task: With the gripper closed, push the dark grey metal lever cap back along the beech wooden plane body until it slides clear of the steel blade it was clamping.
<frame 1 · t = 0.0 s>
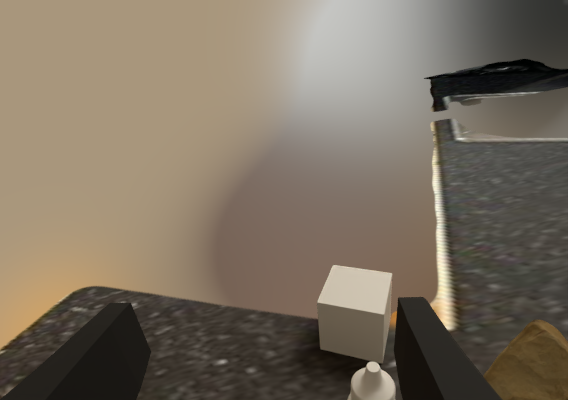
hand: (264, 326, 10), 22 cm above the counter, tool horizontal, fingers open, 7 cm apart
white cube: (356, 335, 38), on the counter
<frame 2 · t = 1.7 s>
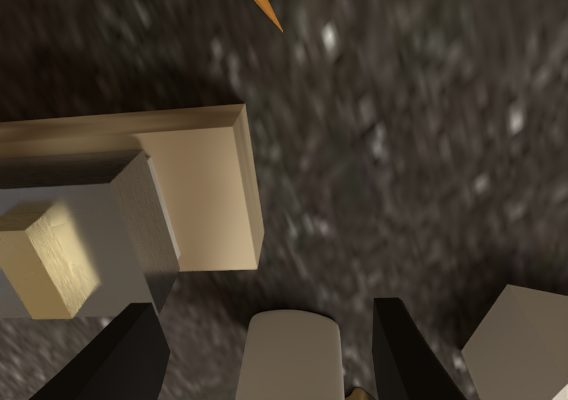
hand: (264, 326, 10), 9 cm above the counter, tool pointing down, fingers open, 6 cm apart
eye dropper bottle: (294, 324, 24), on the counter
plane body: (66, 184, 19), on the counter
white cube: (527, 325, 23), on the counter
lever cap: (61, 244, 15), point 5 cm above the counter, slide at 0.0 cm
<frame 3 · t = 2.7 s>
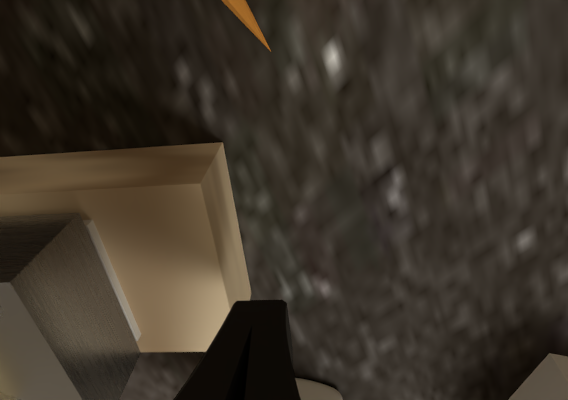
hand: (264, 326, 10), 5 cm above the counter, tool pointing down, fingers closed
eye dropper bottle: (289, 391, 20), on the counter
plane body: (3, 236, 16), on the counter
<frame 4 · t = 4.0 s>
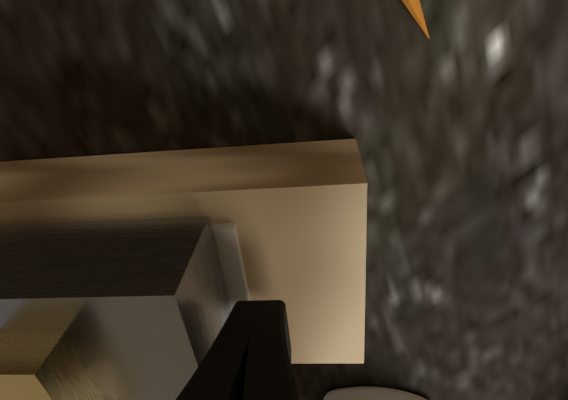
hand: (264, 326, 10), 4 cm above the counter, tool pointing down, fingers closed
plane body: (97, 239, 15), on the counter
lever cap: (85, 356, 10), point 5 cm above the counter, slide at 0.5 cm, touching gripper
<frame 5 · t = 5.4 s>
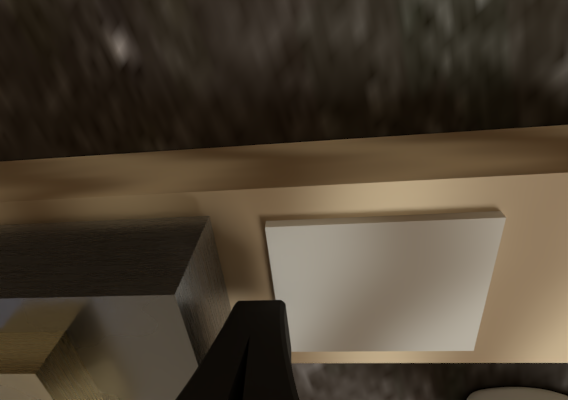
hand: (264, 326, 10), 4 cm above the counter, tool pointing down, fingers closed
plane body: (269, 232, 14), on the counter
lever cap: (85, 355, 10), point 5 cm above the counter, slide at 7.4 cm, touching gripper
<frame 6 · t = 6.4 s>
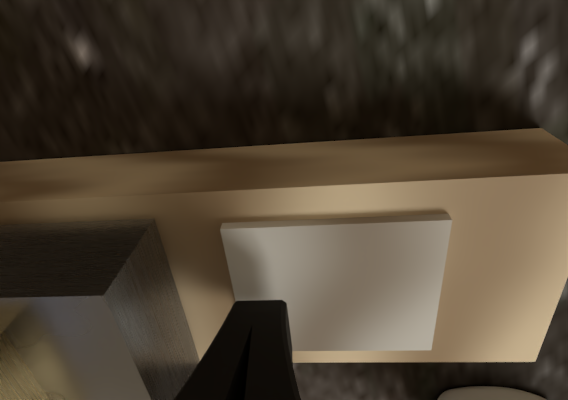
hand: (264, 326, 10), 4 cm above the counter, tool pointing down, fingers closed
plane body: (237, 233, 14), on the counter
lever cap: (34, 355, 10), point 5 cm above the counter, slide at 7.7 cm
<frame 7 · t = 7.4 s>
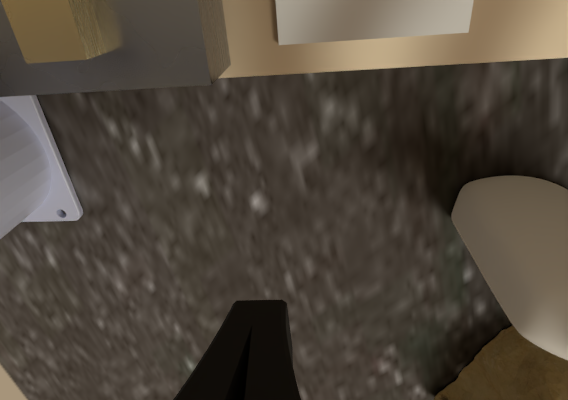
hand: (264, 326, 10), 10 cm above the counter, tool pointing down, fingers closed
eye dropper bottle: (507, 202, 19), on the counter
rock: (496, 357, 25), on the counter
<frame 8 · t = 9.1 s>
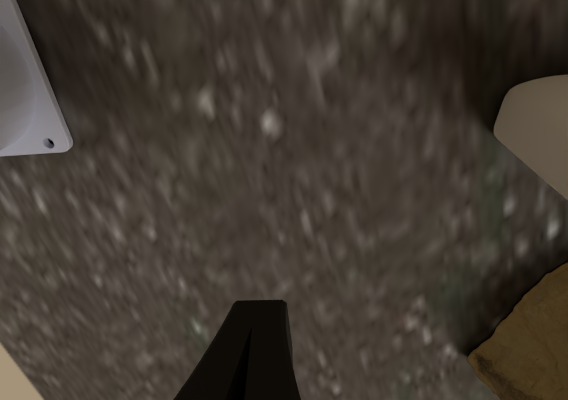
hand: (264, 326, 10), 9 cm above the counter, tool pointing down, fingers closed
eye dropper bottle: (557, 113, 16), on the counter
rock: (537, 308, 22), on the counter
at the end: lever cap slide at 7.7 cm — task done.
